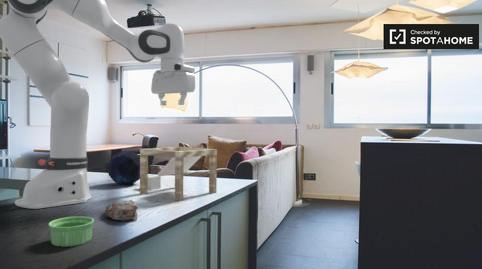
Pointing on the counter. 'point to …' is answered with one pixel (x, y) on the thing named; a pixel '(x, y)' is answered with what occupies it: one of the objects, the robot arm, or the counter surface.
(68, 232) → the ramekin
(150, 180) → the stone block
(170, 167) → the trapdoor
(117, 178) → the decorative orb
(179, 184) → the wooden stool
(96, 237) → the counter surface
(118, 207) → the mineral rock
